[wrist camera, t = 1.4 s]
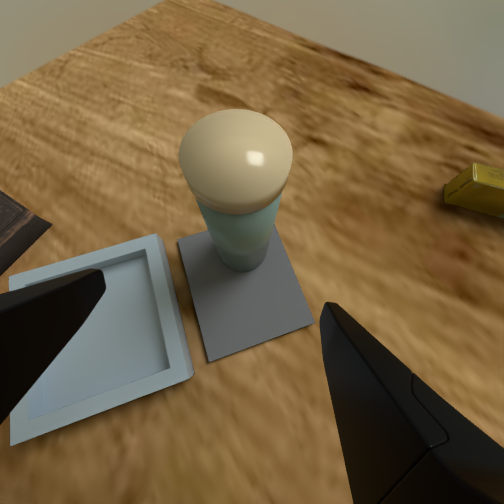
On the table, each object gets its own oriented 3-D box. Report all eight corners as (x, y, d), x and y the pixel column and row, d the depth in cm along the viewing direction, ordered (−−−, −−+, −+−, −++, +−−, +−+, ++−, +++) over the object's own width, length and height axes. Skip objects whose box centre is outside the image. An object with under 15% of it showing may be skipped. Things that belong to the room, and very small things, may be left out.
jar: (275, 263, 22) (310, 182, 10) (225, 280, 22) (194, 215, 9) (258, 218, 24) (269, 99, 11) (210, 233, 23) (167, 123, 11)
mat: (313, 322, 21) (314, 322, 21) (210, 361, 20) (209, 362, 20) (268, 213, 25) (269, 211, 24) (178, 240, 23) (177, 239, 23)
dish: (194, 373, 20) (188, 378, 18) (35, 433, 18) (10, 446, 16) (163, 240, 23) (155, 233, 22) (29, 281, 22) (9, 276, 20)
